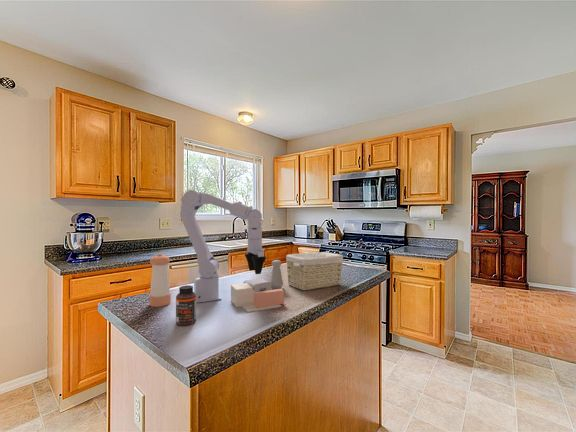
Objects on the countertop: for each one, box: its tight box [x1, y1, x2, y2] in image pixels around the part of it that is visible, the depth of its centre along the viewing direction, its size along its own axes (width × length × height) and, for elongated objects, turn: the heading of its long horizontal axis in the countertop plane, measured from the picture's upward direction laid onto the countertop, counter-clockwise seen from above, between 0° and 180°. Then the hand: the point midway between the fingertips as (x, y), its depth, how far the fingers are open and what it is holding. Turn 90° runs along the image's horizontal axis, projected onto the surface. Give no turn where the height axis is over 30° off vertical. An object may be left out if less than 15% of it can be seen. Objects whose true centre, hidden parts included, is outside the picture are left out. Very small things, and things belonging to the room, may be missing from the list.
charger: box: [242, 277, 273, 292], centre depth 124 cm, size 5×9×15 cm
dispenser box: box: [230, 282, 254, 308], centre depth 106 cm, size 7×8×6 cm
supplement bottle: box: [175, 284, 197, 327], centre depth 86 cm, size 6×6×11 cm
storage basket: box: [285, 251, 344, 291], centre depth 131 cm, size 24×16×15 cm
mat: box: [241, 304, 282, 313], centre depth 101 cm, size 13×6×1 cm, turn 116°
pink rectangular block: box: [254, 288, 285, 308], centre depth 102 cm, size 11×2×5 cm, turn 116°
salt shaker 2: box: [269, 259, 284, 290], centre depth 125 cm, size 6×6×13 cm
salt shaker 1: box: [149, 253, 172, 308], centre depth 105 cm, size 7×7×19 cm
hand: (255, 272), depth 112 cm, fingers open, 7 cm apart
